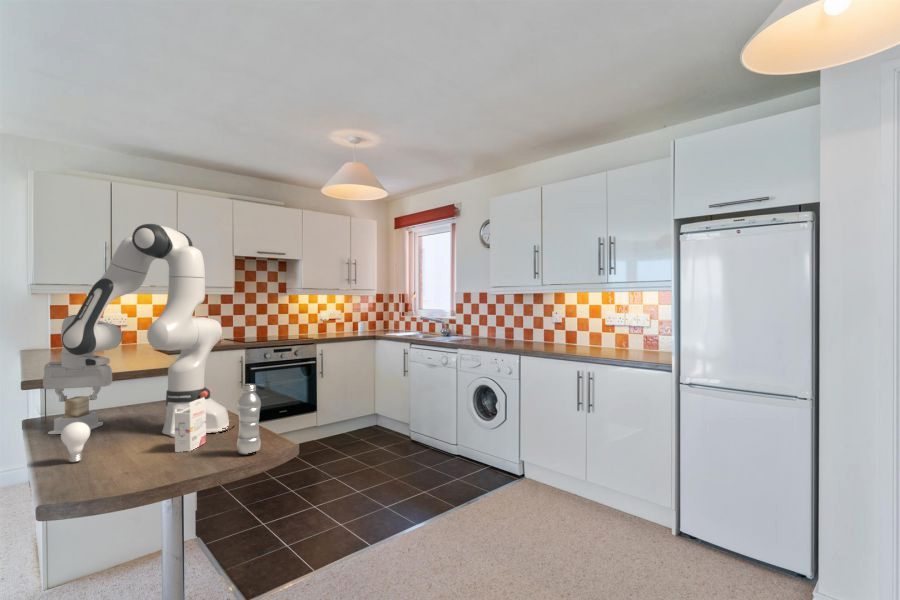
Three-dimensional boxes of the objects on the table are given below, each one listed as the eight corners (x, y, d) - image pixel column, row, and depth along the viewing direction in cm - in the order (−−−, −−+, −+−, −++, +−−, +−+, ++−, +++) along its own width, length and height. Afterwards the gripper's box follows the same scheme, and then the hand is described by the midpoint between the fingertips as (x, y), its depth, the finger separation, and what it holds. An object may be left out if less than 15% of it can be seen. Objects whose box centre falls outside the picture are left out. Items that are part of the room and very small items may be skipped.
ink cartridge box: (190, 443, 142) (191, 396, 143) (206, 443, 142) (206, 396, 142) (173, 452, 134) (173, 402, 134) (190, 452, 134) (190, 402, 134)
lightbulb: (65, 467, 121) (66, 426, 121) (56, 463, 125) (56, 423, 125) (94, 461, 127) (94, 421, 127) (84, 457, 130) (84, 418, 130)
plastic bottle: (255, 448, 138) (255, 382, 138) (264, 453, 133) (264, 384, 133) (233, 453, 133) (233, 384, 133) (241, 458, 128) (242, 387, 128)
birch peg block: (88, 424, 162) (89, 396, 162) (77, 428, 156) (77, 399, 156) (76, 424, 162) (76, 396, 162) (64, 429, 156) (64, 399, 156)
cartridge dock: (102, 424, 165) (103, 410, 166) (81, 433, 154) (81, 418, 154) (72, 425, 164) (72, 411, 164) (48, 435, 152) (48, 420, 152)
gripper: (37, 363, 154) (38, 404, 154) (104, 360, 157) (104, 400, 157) (51, 361, 161) (51, 400, 160) (114, 358, 164) (115, 397, 163)
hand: (78, 400), depth 159 cm, fingers open, 8 cm apart
